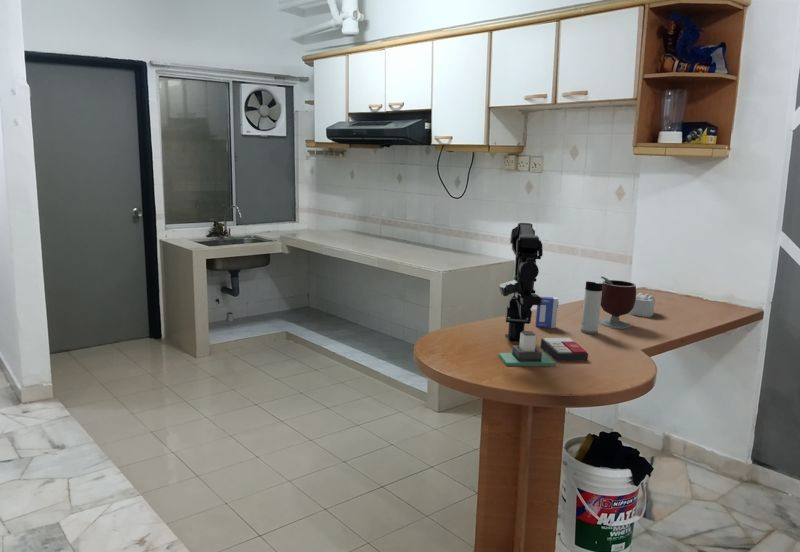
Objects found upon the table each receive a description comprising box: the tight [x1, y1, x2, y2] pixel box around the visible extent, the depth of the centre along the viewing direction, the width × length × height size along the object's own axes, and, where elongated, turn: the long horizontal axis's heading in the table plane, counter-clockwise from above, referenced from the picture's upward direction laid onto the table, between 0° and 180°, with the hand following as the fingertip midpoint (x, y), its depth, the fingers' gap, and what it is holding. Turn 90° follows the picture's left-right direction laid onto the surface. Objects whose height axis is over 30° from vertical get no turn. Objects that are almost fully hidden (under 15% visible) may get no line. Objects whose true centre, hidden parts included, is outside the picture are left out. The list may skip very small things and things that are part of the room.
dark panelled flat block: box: [540, 337, 589, 362], centre depth 226 cm, size 11×4×15 cm
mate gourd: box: [599, 276, 637, 329], centre depth 268 cm, size 16×14×20 cm
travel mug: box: [580, 280, 603, 335], centre depth 254 cm, size 6×7×20 cm
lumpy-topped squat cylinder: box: [627, 292, 656, 318], centre depth 291 cm, size 10×13×9 cm
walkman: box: [535, 296, 559, 329], centre depth 260 cm, size 8×3×12 cm, turn 84°
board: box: [498, 345, 556, 367], centre depth 217 cm, size 10×16×4 cm, turn 96°
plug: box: [518, 330, 538, 352], centre depth 216 cm, size 4×5×8 cm
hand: (522, 319), depth 222 cm, fingers closed
